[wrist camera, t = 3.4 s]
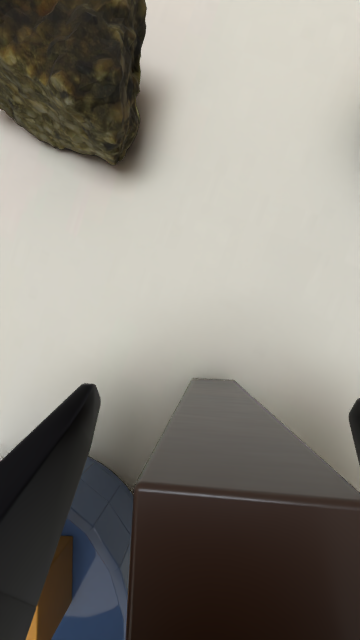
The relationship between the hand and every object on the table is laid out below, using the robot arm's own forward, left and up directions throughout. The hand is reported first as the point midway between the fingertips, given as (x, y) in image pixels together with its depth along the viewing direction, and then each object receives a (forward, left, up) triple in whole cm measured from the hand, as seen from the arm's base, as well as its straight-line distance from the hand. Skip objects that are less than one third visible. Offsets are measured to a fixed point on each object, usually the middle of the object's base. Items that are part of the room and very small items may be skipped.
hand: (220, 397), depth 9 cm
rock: (+19, +9, -8) cm, 22 cm away
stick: (-1, 0, -8) cm, 8 cm away
